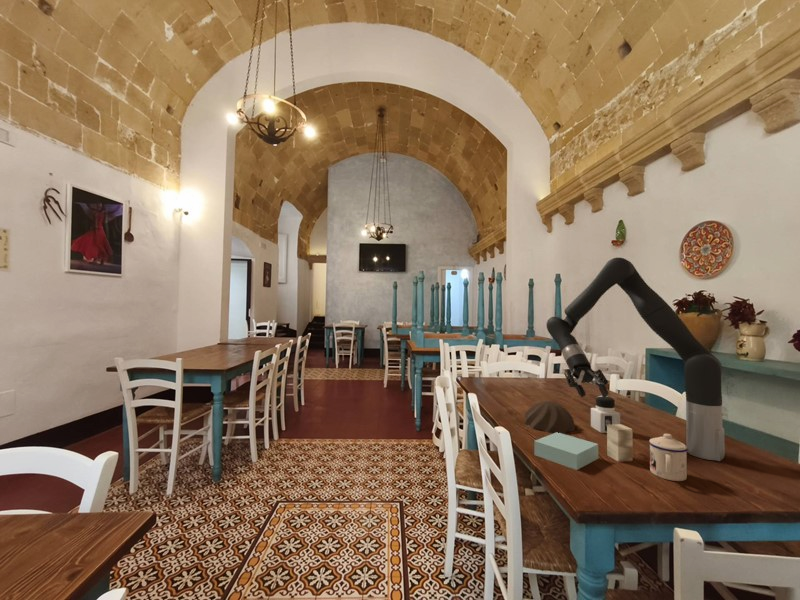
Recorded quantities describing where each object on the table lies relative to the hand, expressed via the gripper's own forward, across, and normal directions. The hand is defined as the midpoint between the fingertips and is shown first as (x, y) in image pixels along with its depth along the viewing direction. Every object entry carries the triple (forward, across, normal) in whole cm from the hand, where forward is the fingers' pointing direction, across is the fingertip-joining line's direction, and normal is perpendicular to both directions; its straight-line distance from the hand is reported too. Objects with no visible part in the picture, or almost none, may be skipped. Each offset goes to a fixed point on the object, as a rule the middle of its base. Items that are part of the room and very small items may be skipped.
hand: (595, 395), depth 130 cm
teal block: (+19, -16, +6) cm, 26 cm away
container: (+3, +14, +22) cm, 26 cm away
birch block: (+20, 0, +4) cm, 21 cm away
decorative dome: (-3, -5, +28) cm, 29 cm away
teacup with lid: (+30, +5, -6) cm, 31 cm away
